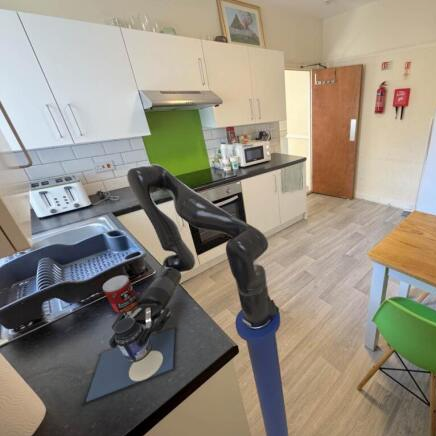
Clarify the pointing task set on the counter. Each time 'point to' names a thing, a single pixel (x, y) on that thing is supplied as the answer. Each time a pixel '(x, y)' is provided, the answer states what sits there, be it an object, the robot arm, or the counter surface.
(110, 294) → the canned food
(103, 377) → the placemat
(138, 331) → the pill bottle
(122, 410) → the counter surface
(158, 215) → the robot arm
